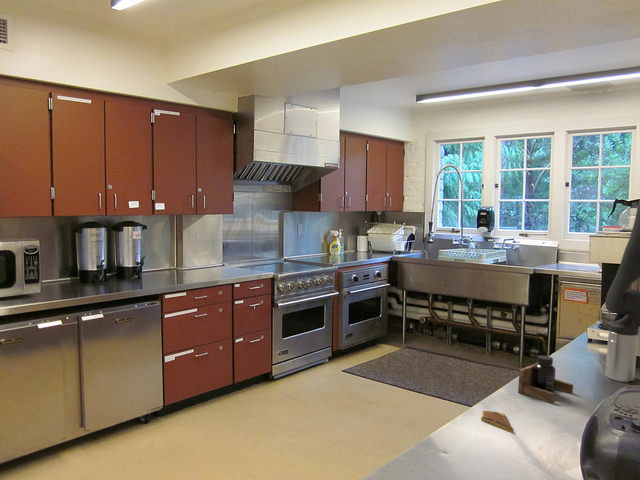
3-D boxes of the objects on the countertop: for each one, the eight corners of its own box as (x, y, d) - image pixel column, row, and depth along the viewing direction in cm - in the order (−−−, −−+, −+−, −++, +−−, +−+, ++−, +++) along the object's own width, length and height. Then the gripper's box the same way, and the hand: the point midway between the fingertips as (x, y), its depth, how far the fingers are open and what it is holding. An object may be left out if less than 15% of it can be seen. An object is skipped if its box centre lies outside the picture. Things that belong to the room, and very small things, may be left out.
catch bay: (541, 382, 179) (543, 360, 178) (573, 392, 170) (575, 369, 169) (518, 392, 169) (519, 369, 168) (550, 403, 160) (552, 379, 159)
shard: (513, 435, 139) (513, 428, 139) (485, 432, 140) (485, 426, 140) (504, 417, 150) (505, 412, 150) (478, 415, 151) (478, 410, 151)
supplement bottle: (553, 390, 172) (555, 355, 171) (555, 397, 166) (557, 362, 164) (531, 386, 174) (533, 353, 173) (532, 394, 168) (534, 359, 167)
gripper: (682, 279, 148) (633, 311, 158) (667, 283, 139) (616, 317, 150) (703, 300, 144) (650, 332, 155) (688, 305, 136) (634, 339, 146)
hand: (633, 324), depth 152 cm, fingers closed
